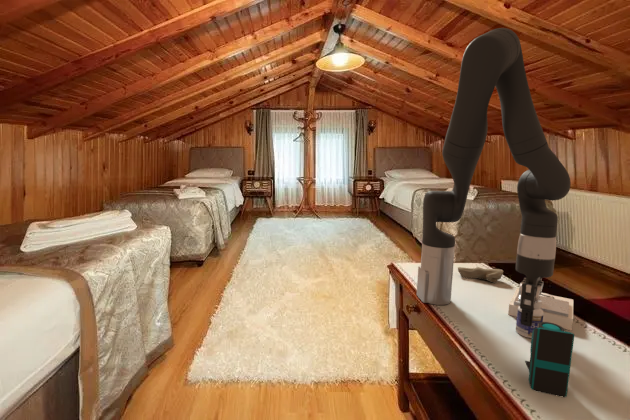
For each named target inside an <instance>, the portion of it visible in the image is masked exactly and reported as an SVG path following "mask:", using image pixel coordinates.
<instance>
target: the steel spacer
mask: <svg viewBox="0 0 630 420" xmlns="http://www.w3.org/2000/svg"><path fill="white" fill-rule="evenodd" d="M518 288H519V296H518V297H519V298H520V299H521V291H522V282H520V283H519V287H518Z"/></svg>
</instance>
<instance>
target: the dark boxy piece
mask: <svg viewBox="0 0 630 420" xmlns="http://www.w3.org/2000/svg"><path fill="white" fill-rule="evenodd" d="M565 330H566V329H564V328H563V327H561V326H559V325H557V324H554V323H550V322H540V323H539V325H538V328H534V330H533V332H532V338H531V340H530V356H529V361H528V360H525V361H524V362H525V364H526V367H527V370H528V383H529V387H530V388H531V390H532V391H534V392H538V393H543V394H547V395H552V396H556V395H557V397H560V396H563V397H562V398H566V397H567V394H568V387H569V380H570V372H571V364H572V358H573V357H572V356H573V351H574V350H573V349H574V340H575V336H576V335H575V333H573V332H570V331H565Z"/></svg>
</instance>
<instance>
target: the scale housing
mask: <svg viewBox="0 0 630 420" xmlns="http://www.w3.org/2000/svg"><path fill="white" fill-rule="evenodd" d="M518 292H519V287H517V288H516V289H515V291H514V294H513V296H512V297H511V300H510V302H509V303H508V304H509V305H508V313H507V314H508V315H509V316H512V317H516V318H517V313H518V307H519V306H518V305H514V301H515V298H516V296H517V294H518ZM539 296H543V297H548V298H553V299H558V300H562V301H567V302H569V315H568V317H565V316H560V315H556V314H552V313H548V312H543V313H544V314H543V322H550V323H554V324H557V325H559V326H561V327H563V328H564V330H567V331H573V325H574V324H573V322H574V299H572V298H567V297H562V296H557V295H553V294H549V293H546V292H542V293H541V295H539Z"/></svg>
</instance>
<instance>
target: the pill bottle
mask: <svg viewBox="0 0 630 420" xmlns="http://www.w3.org/2000/svg"><path fill="white" fill-rule="evenodd" d="M525 304H526V305H531V302H530V301H525ZM541 306H542V301H541V300H540V299H538V302H537V303H535V307H534V308H535V310H534V312H533V320H532V326H530V327H529V326H525V325H522V324H521V313H522V309H520V306H519V307H518V313H517V317H516V322H515V332H516V333H517V334H518V335H520V336H522V337H525V338H528V339H532V332H533V330H534V328H538V325H539V323H540V322H543V314H544V313H543V310H542V309H540V308H541Z"/></svg>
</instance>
